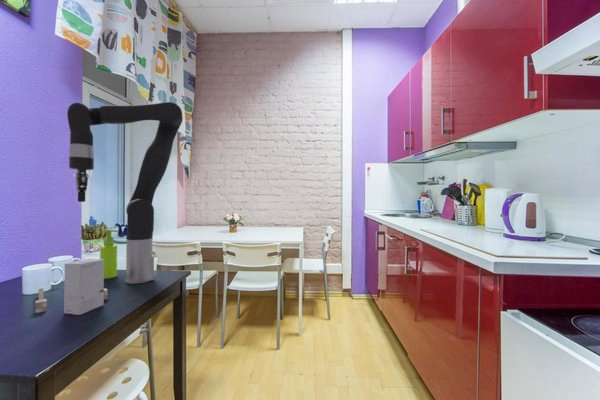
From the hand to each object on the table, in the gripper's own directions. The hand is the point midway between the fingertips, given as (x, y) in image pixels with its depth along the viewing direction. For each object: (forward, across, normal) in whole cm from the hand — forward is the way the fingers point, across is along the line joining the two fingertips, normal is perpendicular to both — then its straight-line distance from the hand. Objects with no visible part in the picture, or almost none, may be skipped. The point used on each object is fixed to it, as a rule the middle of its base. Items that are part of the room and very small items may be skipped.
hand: (81, 201), depth 110 cm
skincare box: (+32, -31, +2) cm, 45 cm away
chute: (+32, -16, +4) cm, 36 cm away
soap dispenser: (+32, +4, -10) cm, 34 cm away
